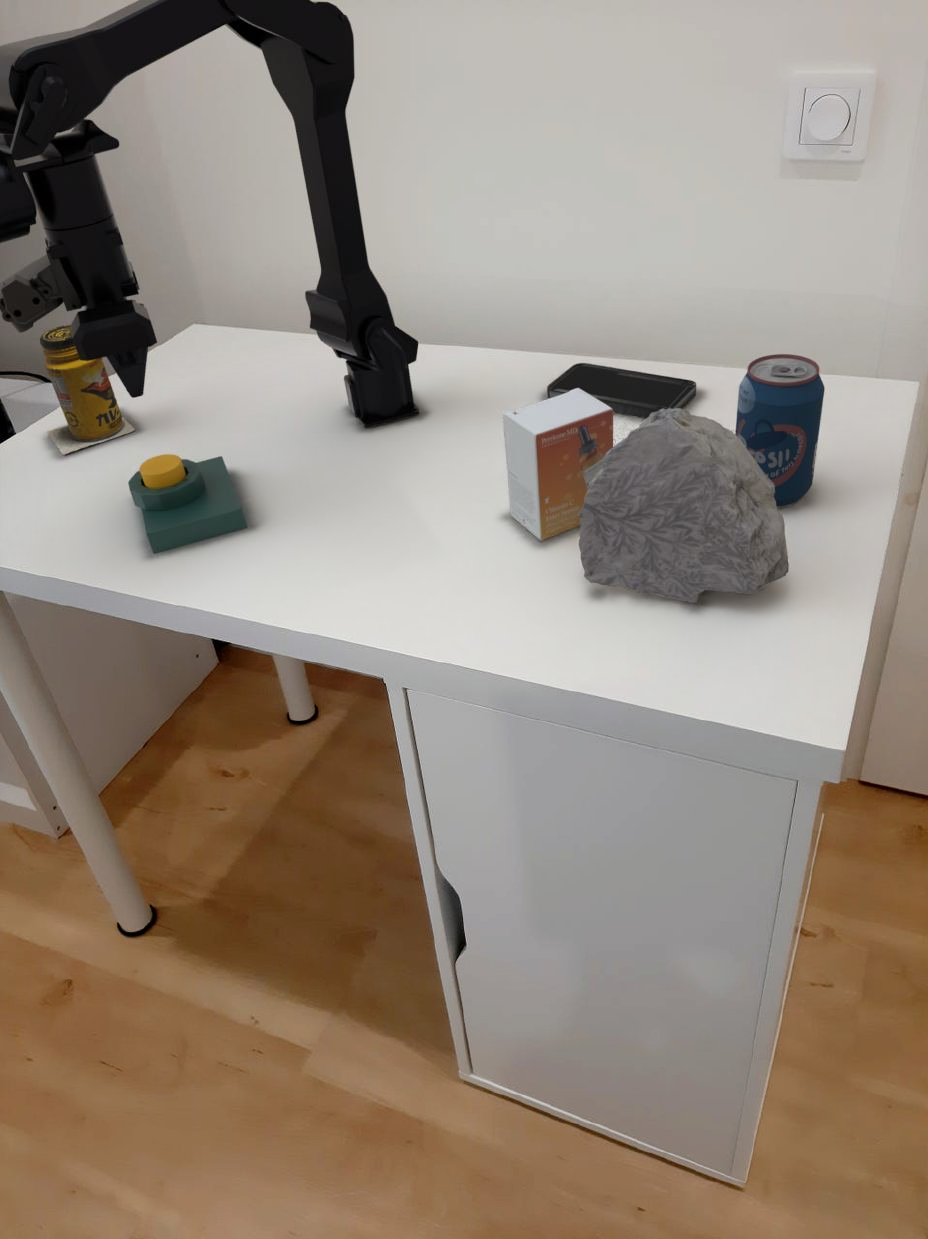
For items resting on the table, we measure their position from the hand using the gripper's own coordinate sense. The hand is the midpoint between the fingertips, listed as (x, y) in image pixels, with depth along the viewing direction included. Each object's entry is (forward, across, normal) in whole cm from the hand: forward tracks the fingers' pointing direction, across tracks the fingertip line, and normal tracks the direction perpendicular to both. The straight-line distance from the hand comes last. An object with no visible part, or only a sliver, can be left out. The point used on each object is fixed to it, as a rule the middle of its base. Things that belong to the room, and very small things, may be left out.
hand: (137, 395), depth 89 cm
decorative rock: (+13, +34, +37) cm, 52 cm away
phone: (+12, +1, +49) cm, 51 cm away
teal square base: (+12, +1, +2) cm, 13 cm away
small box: (+13, +20, +33) cm, 41 cm away
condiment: (+13, -24, -7) cm, 28 cm away
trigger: (+9, 0, 0) cm, 9 cm away
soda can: (+13, +26, +51) cm, 59 cm away
